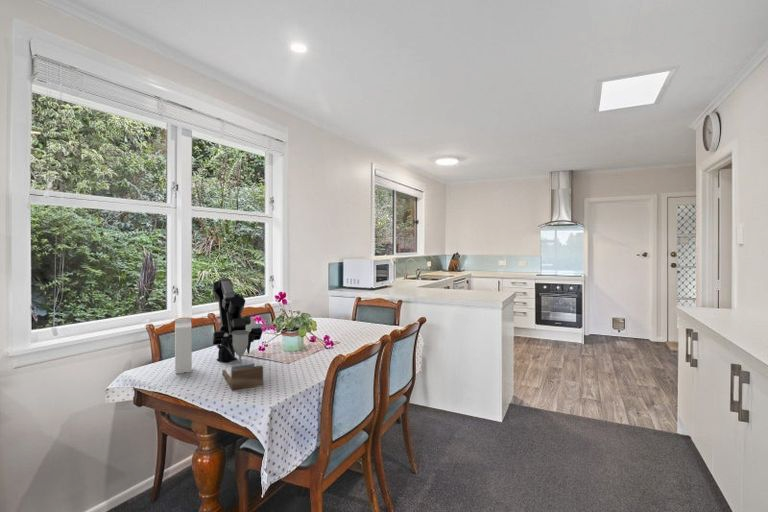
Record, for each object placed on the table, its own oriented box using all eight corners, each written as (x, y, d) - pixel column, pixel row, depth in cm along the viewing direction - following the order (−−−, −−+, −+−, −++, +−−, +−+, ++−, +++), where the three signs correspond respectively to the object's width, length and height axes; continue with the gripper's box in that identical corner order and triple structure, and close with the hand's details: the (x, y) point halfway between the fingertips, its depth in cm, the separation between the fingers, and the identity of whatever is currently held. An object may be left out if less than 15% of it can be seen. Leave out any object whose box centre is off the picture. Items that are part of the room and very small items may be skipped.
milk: (191, 371, 165) (191, 319, 164) (175, 374, 162) (175, 320, 161) (190, 367, 170) (191, 316, 169) (174, 369, 167) (174, 317, 166)
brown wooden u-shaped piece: (222, 374, 161) (222, 357, 161) (250, 370, 167) (250, 354, 167) (232, 390, 144) (232, 371, 144) (262, 385, 150) (263, 366, 150)
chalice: (251, 377, 158) (252, 333, 157) (234, 381, 154) (235, 335, 153) (244, 372, 164) (245, 329, 163) (228, 375, 160) (228, 331, 159)
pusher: (231, 382, 152) (231, 366, 152) (253, 378, 157) (253, 363, 157) (231, 382, 152) (231, 367, 151) (254, 379, 156) (254, 363, 156)
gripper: (213, 311, 156) (218, 345, 147) (261, 308, 166) (268, 340, 157) (210, 327, 163) (214, 361, 154) (256, 323, 173) (263, 354, 164)
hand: (240, 353), depth 157 cm, fingers closed on chalice, 6 cm apart
